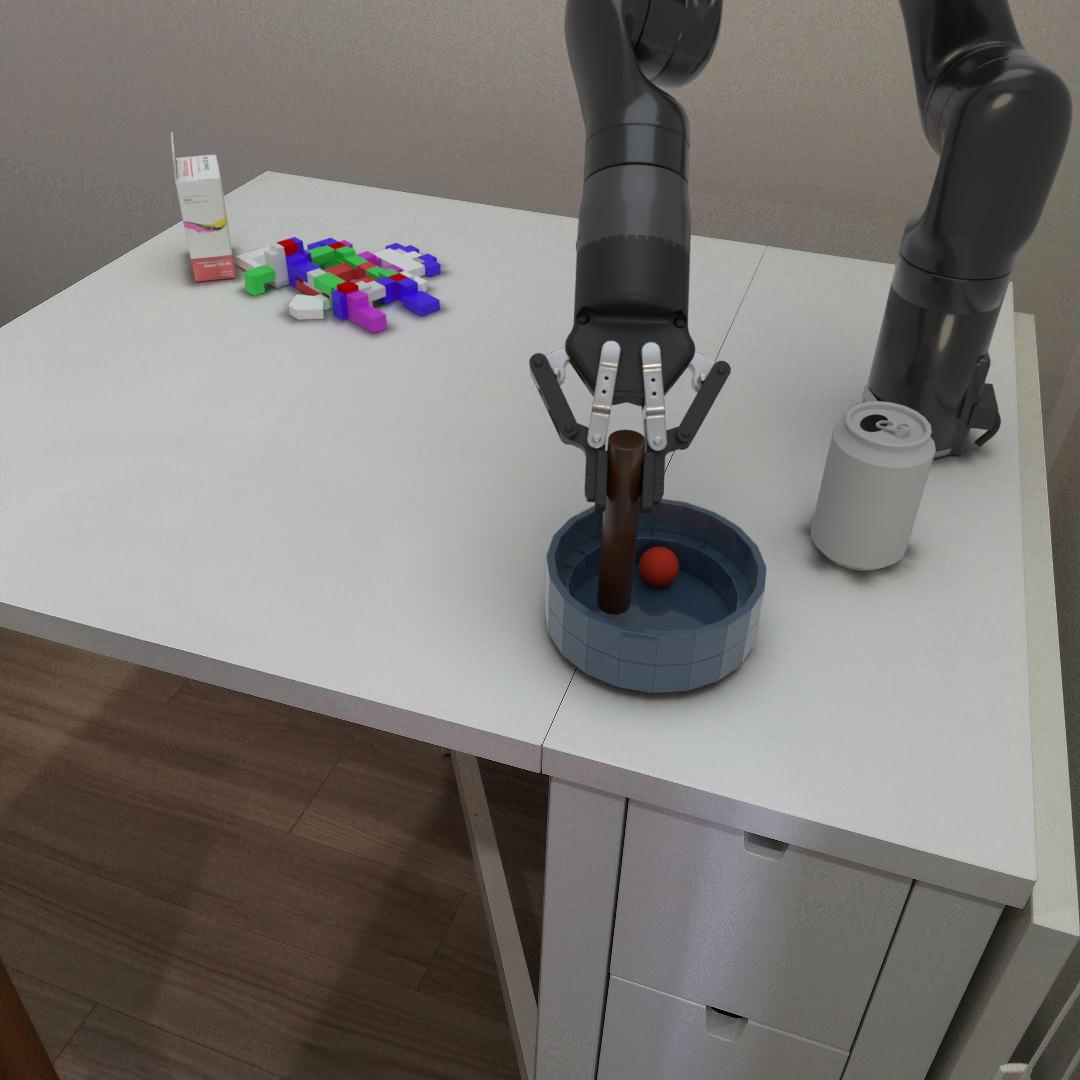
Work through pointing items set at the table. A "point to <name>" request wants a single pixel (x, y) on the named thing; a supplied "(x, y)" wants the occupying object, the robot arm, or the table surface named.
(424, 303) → the building block set
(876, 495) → the can
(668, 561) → the ball
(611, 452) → the stick
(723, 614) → the bowl
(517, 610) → the table surface
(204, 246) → the ink cartridge box
